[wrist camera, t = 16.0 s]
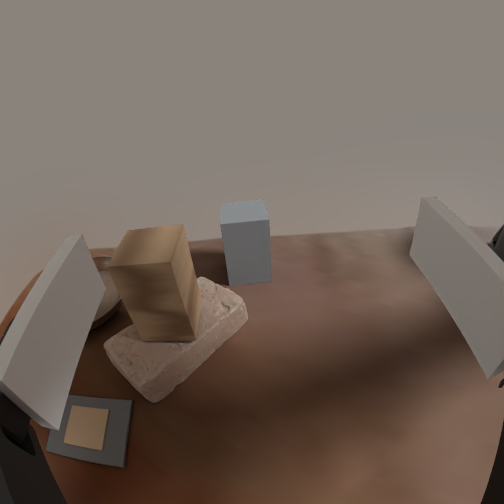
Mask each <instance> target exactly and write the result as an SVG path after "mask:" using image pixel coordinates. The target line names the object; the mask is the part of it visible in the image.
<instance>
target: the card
mask: <svg viewBox="0 0 504 504" xmlns="http://www.w3.org/2000/svg"><path fill="white" fill-rule="evenodd" d="M132 406H133V401H132V400H121V399H107V398H95V397H85V396H77V395H69V394H68V397H67V401H66V404H65V408H64V412H63V416H62V420H61V424H60V428H59V430H54V429H50V433H49V437H48V441H47V446H46V451H47V452H50V453H54V454H57V455H61V456H65V457H69V458H73V459H77V460H82V461H86V462H91V463H96V464H102V465H107V466H114V467H120V468H125V460H126V451H127V442H128V434H129V427H130V420H131V413H132Z"/></svg>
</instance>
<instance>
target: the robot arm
mask: <svg viewBox="0 0 504 504" xmlns="http://www.w3.org/2000/svg"><path fill="white" fill-rule="evenodd" d="M409 256H410V257H411V258H412V260H413V261H414V262H415V264H416V265H417V266H418V268H419V269H420V271H421V272H422V273H423V275H424V276H425V278H426V279H427V280H428V282H429V283H430V285H431V286H432V288H433V289H434V291H435V292H436V294H437V295H438V297H439V298H440V300H441V301H442V303H443V304H444V306H445V307H446V309H447V310H448V312H449V313H450V315H451V317H452V318H453V320H454V321H455V323H456V325H457V326H458V328H459V329H460V331H461V333H462V334H463V336H464V338H465V340H466V341H467V343H468V345H469V346H470V348H471V350H472V352H473V353H474V355H475V357H476V359H477V361H478V363H479V364H480V366H481V368H482V370H483V372H484V374H485V376H486V378H487V379H489V378H491V377H493V376H495V375H497V374H499V373H501V372H502V371H503V370H504V224H503V225H502V226H501V228H500V229H499V231H498V232H497V233H496V235H495V236H494V237H493V239H492V241H491V243H490V246H488V245H487V244H486V243H485V242H484V241H483V240H482V239H481V238H480V237H479V236H478V235H477V234H476V233H475V232H474V231H473V230H472V229H471V228H470V227H469V226H468V225H467V224H465V223H464V222H463V221H462V220H461V219H460V218H459V217H458V216H457V215H456V214H455V213H453V212H452V211H451V210H450V209H449V208H448V207H447V206H446V205H444V204H443V203H442V202H441V201H440V200H439V199H438V198H436V197H426V198H421V203H420V208H419V213H418V218H417V223H416V228H415V232H414V237H413V241H412V245H411V249H410V253H409ZM105 290H106V287H105V285H104V283H103V281H102V279H101V277H100V274H99V272H98V270H97V268H96V265H95V263H94V261H93V259H92V256H91V254H90V252H89V249H88V247H87V245H86V242H85V240H84V237H83V235H82V234H79V235H73V236H68V237H67V238H66V239H65V240H64V242H63V243H62V245H61V246H60V247H59V249H58V250H57V251H56V253H55V254H54V256H53V257H52V259H51V260H50V262H49V263H48V265H47V266H46V268H45V269H44V271H43V272H42V274H41V275H40V277H39V278H38V280H37V281H36V283H35V285H34V286H33V288H32V289H31V291H30V293H29V294H28V296H27V298H26V299H25V301H24V303H23V304H22V306H21V308H20V310H19V311H18V313H17V315H16V316H15V317H14V318H13V319H12V320H11V322H10V323H9V325H8V327H7V329H6V330H5V332H4V336H2V338H1V340H0V504H67V503H66V501H65V499H64V497H63V495H62V493H61V491H60V489H59V487H58V485H57V483H56V481H55V479H54V477H53V475H52V472H51V470H50V468H49V466H48V463H47V461H46V459H45V456H44V454H43V451H42V449H41V446H40V444H39V441H38V438H37V435H36V433H35V430H34V429H33V427H32V426H31V425H30V424H29V422H30V419H31V418H32V419H33V420H34V421H36V422H37V423H38V424H39V425H41V426H42V427H46V428H50V429H54V430H59V428H60V424H61V420H62V416H63V412H64V408H65V404H66V401H67V397H68V394H69V390H70V387H71V383H72V380H73V377H74V374H75V371H76V368H77V364H78V361H79V358H80V355H81V352H82V350H83V347H84V344H85V341H86V338H87V336H88V333H89V330H90V327H91V325H92V322H93V320H94V317H95V314H96V312H97V309H98V307H99V304H100V302H101V299H102V297H103V295H104V292H105ZM503 385H504V378H503V380H502V381H501V382H500V384H499V388H501V387H502V386H503ZM481 504H504V421H503V427H502V432H501V437H500V441H499V446H498V450H497V454H496V458H495V461H494V465H493V468H492V472H491V475H490V478H489V482H488V485H487V488H486V490H485V493H484V496H483V499H482V501H481Z"/></svg>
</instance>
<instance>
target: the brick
mask: <svg viewBox="0 0 504 504" xmlns="http://www.w3.org/2000/svg"><path fill="white" fill-rule="evenodd" d="M197 282H198V286H199V289H200V293H201V297H202V305H201V312H200V318H199V325H198V332H197V339H196V340H193V341H143V340H142V339H141V337H140V335H139V333H138V331H137V329H136V327H135V325H134V324H132V325H131V326H128V327H127V328H125V329H123V330H121V331H120V332H119V333H117V334H116V335H114V336H113V337H111V338H110V339H108V340H107V341H106V342H105V343H104V348H105V350H106V351H107V356H108V357H109V359H110V361H111V362H112V364H113V365H114V366H115V367H116V369H117V370H118V371H119V372H120V373H121V374H122V375H123V376H124V377H125V378H126V379H127V380H128V381H129V382H130V383H131V385H132V386H133V387H134V388H135V389H136V390H137V391H138V392H139V393H141V394H142V395H143V396H144V397H145V398H146V399H147V400H149V401H150V402H152V403H156V402H159V401H160V400H162V399H164V398H165V397H166V396H167V395H168V394H169V393H170V392H172V391H173V390H174V388H175V387H176V385H178V384H180V383H182V382H184V381H185V380H186V378H187V377H188V376H189V375H190V374H191V373H192V372H194V371H195V370H196V369H197V368H198V367H199V366H200V365H201V364H202V363H203V362H204V361H205V360H207V359H208V357H210V356H211V354H212V353H214V352H215V351H216V350H217V349H218V348H219V347H220V346H221V345H222V344H223V343H224V342H225V341H226V340H227V339H229V338H230V337H231V336H232V335H234V334H235V333H236V332H237V331H238V330H239V329H240V327H241V326H243V325H244V324H245V322H246V321H247V319H248V314H247V311H246V310H247V309H246V305H245V303H244V302H243V299H242V298H241V297H240V296H238V295H236V294H235V293H234V292H233V291H231V290H229V289H228V288H223V287H221V286H220V285H218V284H215V283H214V282H213V281H211V280H208V279H206V278H205V277H199V278H197Z"/></svg>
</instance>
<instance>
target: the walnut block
mask: <svg viewBox="0 0 504 504" xmlns="http://www.w3.org/2000/svg"><path fill="white" fill-rule="evenodd" d="M107 269H108V271H109V273H110V275H111V278H112V280H113V282H114V284H115V286H116V289H117V291H118V293H119V295H120V297H121V299H122V301H123V303H124V305H125V308H126V310H127V312H128V314H129V316H130V318H131V320H132V321H133V323H134V325H135V327H136V329H137V331H138V333H139V335H140V337H141V339H142V340H143V341H193V340H196V339H197V332H198V325H199V318H200V312H201V305H202V297H201V293H200V289H199V286H198V282H197V278H196V274H195V270H194V266H193V263H192V259H191V255H190V251H189V247H188V242H187V239H186V234H185V230H184V226H183V224H182V225H172V226H164V227H155V228H146V229H137V230H129V231H127V233H126V235H125V236H124V238H123V239H122V241H121V243H120V245H119V246H118V248H117V250H116V251H115V253H114V255H113V257H112V258H111V260H110V262H109V264H108V265H107Z"/></svg>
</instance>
